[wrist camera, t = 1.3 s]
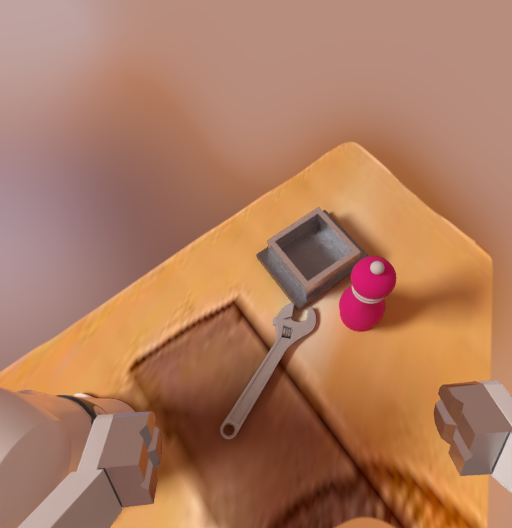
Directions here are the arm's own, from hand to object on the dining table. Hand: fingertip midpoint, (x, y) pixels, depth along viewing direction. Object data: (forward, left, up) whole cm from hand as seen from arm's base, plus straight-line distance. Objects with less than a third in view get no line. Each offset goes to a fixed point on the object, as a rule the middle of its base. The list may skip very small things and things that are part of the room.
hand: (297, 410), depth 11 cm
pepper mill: (+21, +11, -56) cm, 61 cm away
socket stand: (+21, +24, -56) cm, 64 cm away
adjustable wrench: (+2, +13, -55) cm, 57 cm away
